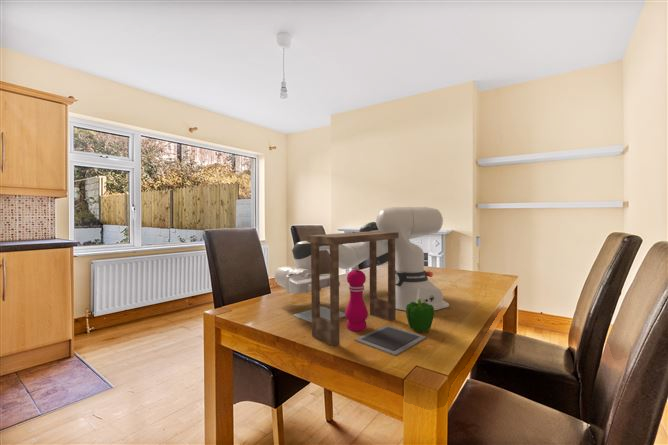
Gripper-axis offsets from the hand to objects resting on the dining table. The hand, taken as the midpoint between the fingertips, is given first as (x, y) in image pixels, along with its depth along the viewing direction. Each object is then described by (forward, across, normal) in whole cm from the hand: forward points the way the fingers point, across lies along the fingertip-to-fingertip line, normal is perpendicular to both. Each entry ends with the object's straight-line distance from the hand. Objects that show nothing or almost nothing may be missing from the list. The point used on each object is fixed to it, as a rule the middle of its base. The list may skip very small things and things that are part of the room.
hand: (329, 286), depth 106 cm
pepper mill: (+12, 0, -12) cm, 17 cm away
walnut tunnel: (+12, 0, -11) cm, 17 cm away
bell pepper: (+28, -12, -12) cm, 32 cm away
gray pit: (+26, 0, -11) cm, 28 cm away
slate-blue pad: (-5, 0, -11) cm, 12 cm away
